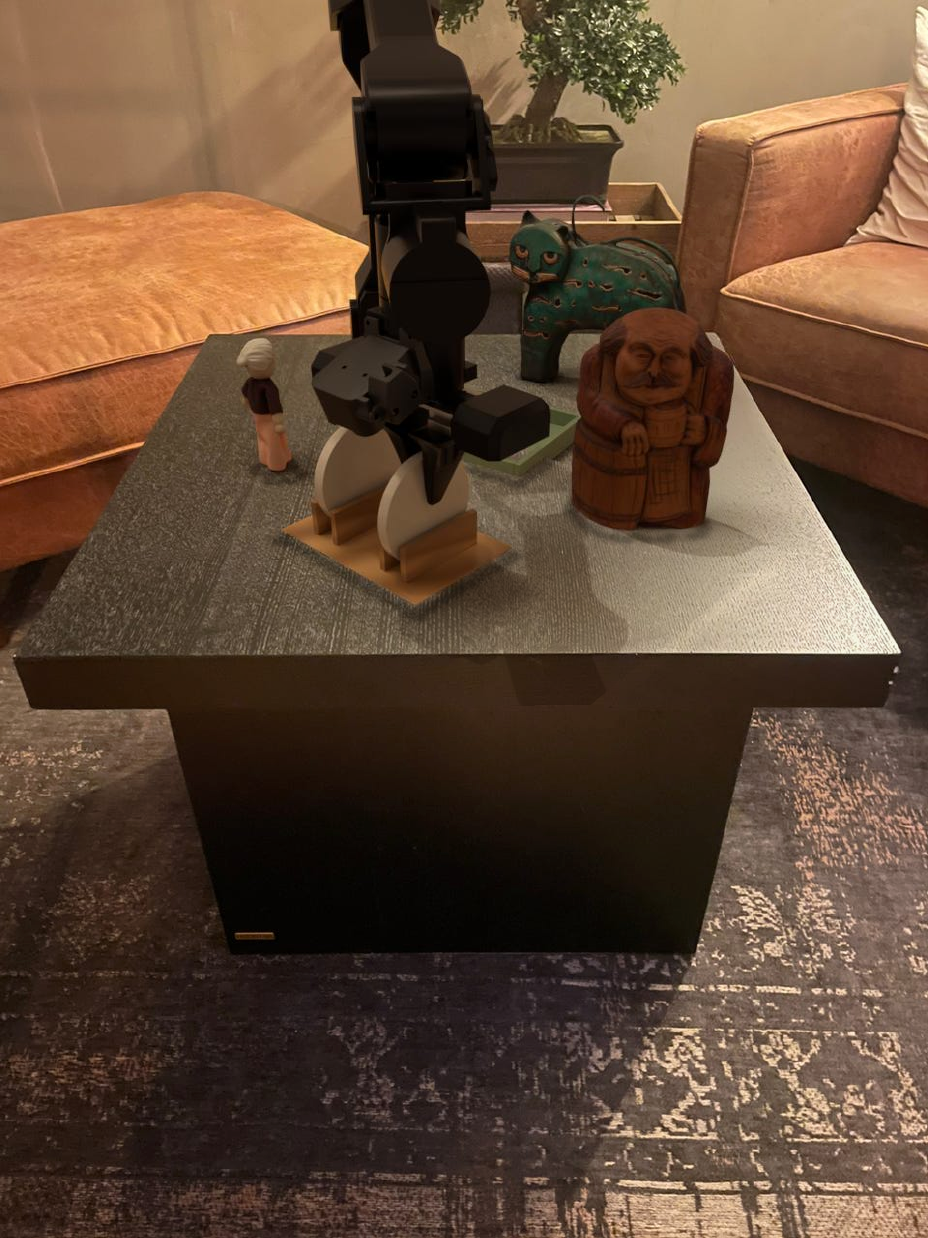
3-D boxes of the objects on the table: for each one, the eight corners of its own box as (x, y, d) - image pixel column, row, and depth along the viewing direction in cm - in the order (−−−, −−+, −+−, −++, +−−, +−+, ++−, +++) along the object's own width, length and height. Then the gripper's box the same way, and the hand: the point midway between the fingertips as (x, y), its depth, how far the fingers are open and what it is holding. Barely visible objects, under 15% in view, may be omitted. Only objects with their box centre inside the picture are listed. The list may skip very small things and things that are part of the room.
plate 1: (316, 536, 75) (311, 431, 70) (396, 503, 80) (397, 404, 76) (324, 540, 74) (319, 435, 69) (404, 507, 80) (405, 407, 75)
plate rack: (282, 539, 77) (276, 497, 75) (378, 493, 83) (376, 453, 81) (415, 615, 68) (413, 570, 66) (512, 557, 75) (513, 514, 72)
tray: (395, 448, 91) (394, 429, 90) (467, 403, 100) (467, 385, 98) (519, 486, 84) (519, 465, 83) (584, 434, 93) (586, 414, 92)
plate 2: (384, 579, 71) (370, 478, 65) (463, 528, 76) (457, 430, 70) (393, 584, 70) (379, 483, 65) (472, 532, 75) (466, 434, 69)
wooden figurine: (573, 539, 77) (589, 325, 66) (567, 502, 82) (582, 298, 71) (714, 540, 77) (754, 326, 66) (699, 503, 82) (734, 298, 71)
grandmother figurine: (316, 476, 86) (301, 343, 79) (283, 490, 84) (265, 355, 76) (266, 451, 90) (247, 323, 83) (233, 464, 88) (211, 333, 81)
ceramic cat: (502, 378, 105) (506, 190, 94) (529, 361, 110) (536, 179, 98) (665, 416, 97) (693, 213, 85) (687, 395, 101) (716, 200, 90)
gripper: (237, 290, 61) (267, 497, 70) (437, 359, 51) (442, 591, 60) (362, 256, 68) (375, 450, 77) (561, 311, 57) (548, 527, 67)
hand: (428, 499), depth 70 cm, fingers closed on plate 2, 1 cm apart
